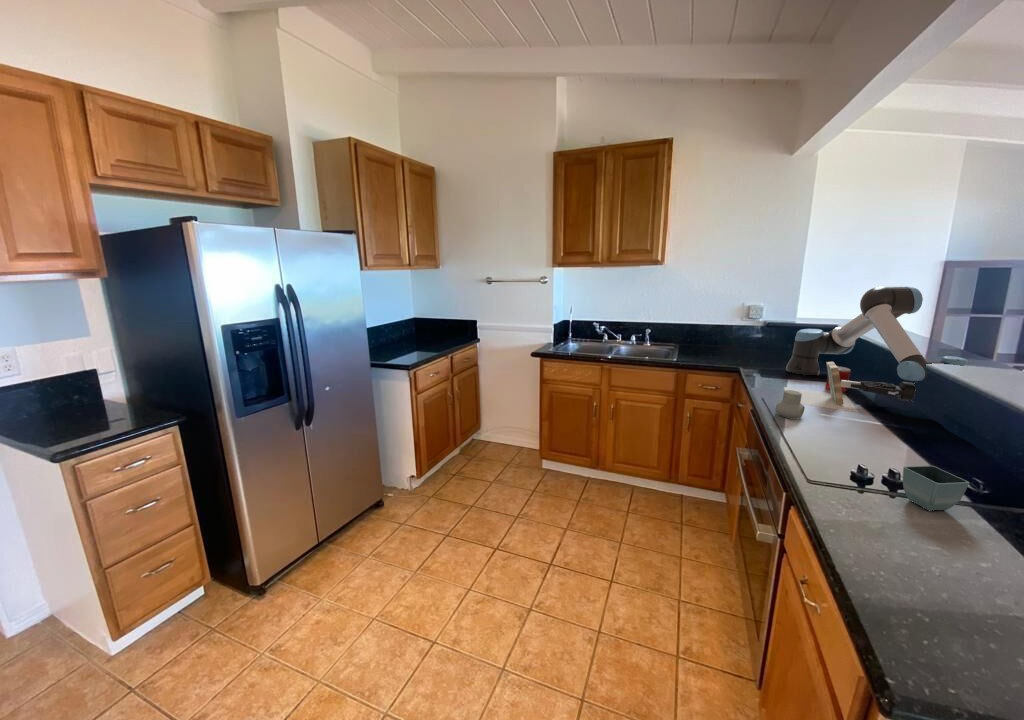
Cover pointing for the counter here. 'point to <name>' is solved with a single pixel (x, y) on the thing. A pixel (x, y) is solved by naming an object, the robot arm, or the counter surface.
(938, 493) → the flower pot
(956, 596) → the counter surface
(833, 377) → the tile
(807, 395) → the mat
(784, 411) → the air freshener
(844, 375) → the canned food
